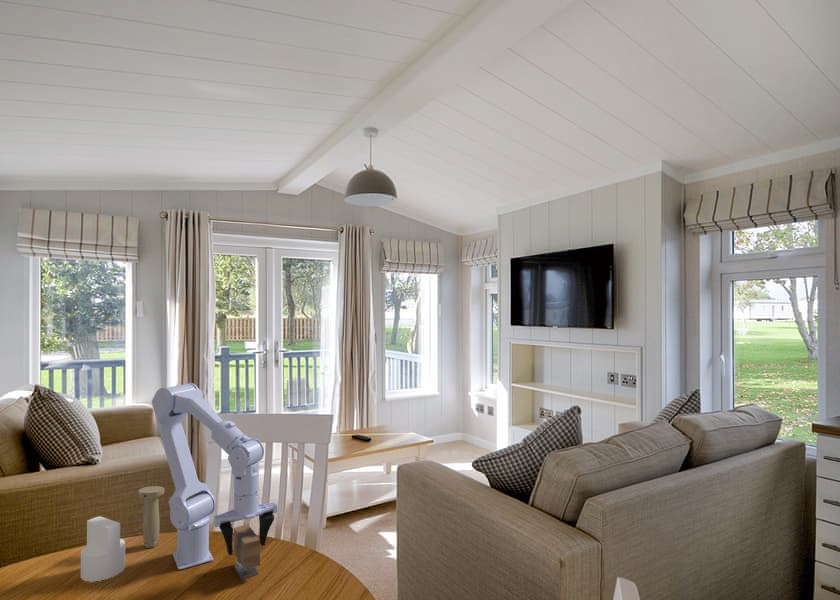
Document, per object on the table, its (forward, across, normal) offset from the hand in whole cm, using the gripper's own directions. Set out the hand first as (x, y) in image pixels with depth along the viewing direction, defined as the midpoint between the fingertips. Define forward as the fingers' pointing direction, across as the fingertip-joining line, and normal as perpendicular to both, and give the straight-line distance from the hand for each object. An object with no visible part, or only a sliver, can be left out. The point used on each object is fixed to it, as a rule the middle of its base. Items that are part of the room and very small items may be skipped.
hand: (246, 548), depth 119 cm
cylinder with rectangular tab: (+6, -28, +20) cm, 35 cm away
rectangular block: (+2, 0, 0) cm, 2 cm away
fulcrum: (+5, 0, 0) cm, 5 cm away
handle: (+6, -18, +28) cm, 33 cm away
